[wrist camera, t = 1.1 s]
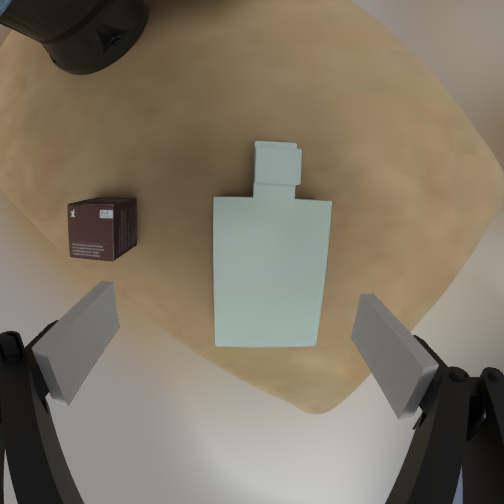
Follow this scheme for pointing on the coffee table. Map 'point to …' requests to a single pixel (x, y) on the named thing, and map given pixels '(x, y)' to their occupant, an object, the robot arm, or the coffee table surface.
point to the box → (102, 228)
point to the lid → (270, 256)
